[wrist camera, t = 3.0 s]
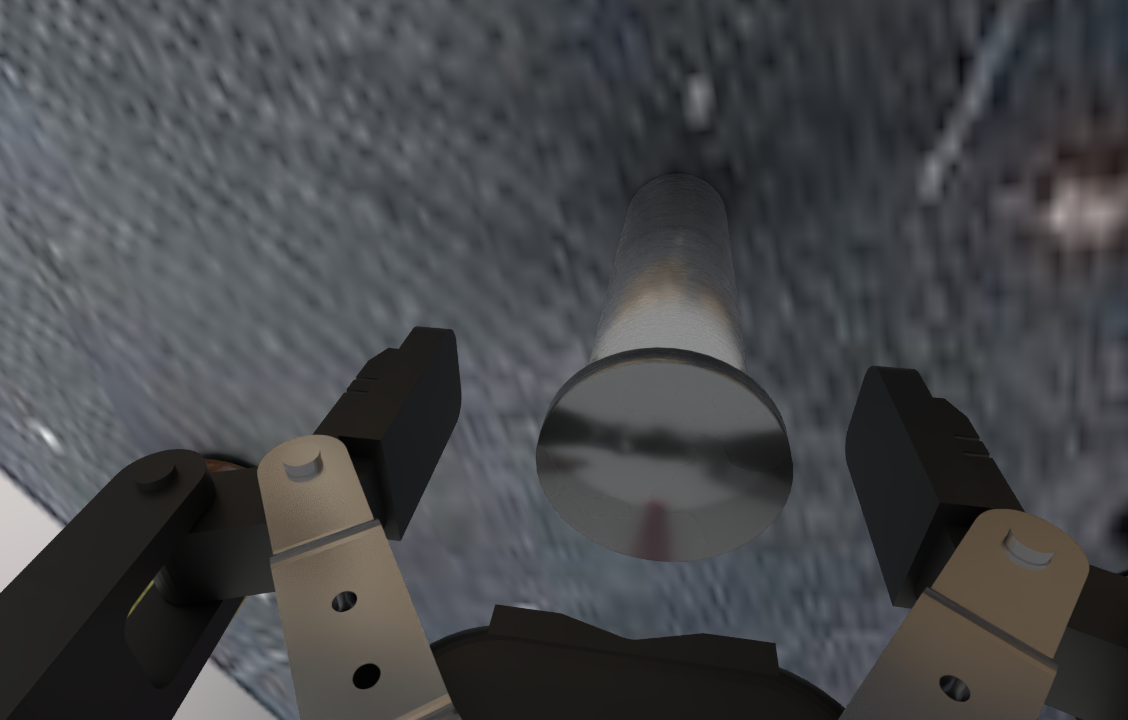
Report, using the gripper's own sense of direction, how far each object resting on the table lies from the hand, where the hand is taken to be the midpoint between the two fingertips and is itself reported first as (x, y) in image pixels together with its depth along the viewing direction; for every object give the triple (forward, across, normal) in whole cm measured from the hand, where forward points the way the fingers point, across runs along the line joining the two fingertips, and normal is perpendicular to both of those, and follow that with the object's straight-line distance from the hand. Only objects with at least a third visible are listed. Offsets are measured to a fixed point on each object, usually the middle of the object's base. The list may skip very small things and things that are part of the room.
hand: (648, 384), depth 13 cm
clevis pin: (+10, 0, 0) cm, 10 cm away
